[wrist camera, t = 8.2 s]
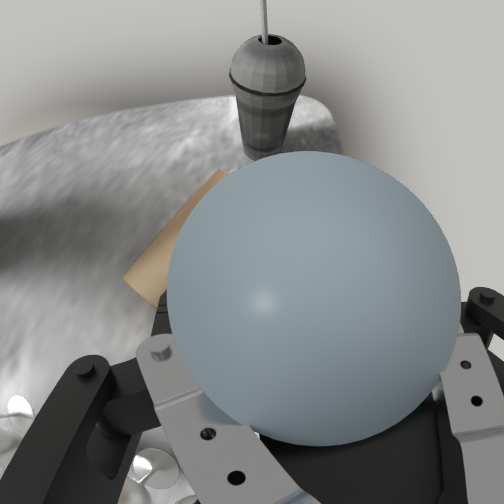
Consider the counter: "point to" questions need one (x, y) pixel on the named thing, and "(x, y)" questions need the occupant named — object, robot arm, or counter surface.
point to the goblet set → (133, 492)
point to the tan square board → (163, 251)
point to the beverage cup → (266, 89)
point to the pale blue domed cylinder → (313, 298)
